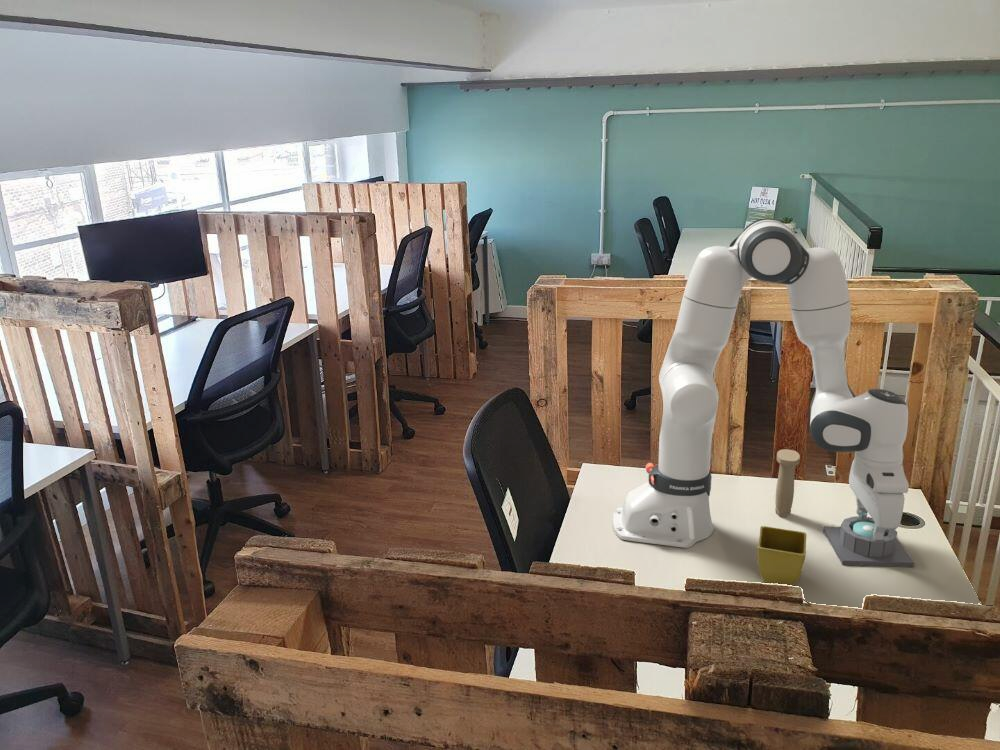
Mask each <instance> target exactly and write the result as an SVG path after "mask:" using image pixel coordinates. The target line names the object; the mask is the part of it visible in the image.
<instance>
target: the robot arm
mask: <svg viewBox="0 0 1000 750" xmlns="http://www.w3.org/2000/svg"><path fill="white" fill-rule="evenodd" d="M791 229H792V228H790V227H789V226H787V225H786V224H785V223H784V222H782V221H780V220H778V219H775V218H768V217H767V218H760V219H757V220H755V221H753V222H751V223H749V224H748V225H747V226H745V228H743V230H742V231H741V232H740V233H739V234H738V235H737V237H735V239H733V240H732V241H731V242H730V244H729V246H722V245H713V246H709V247H706V248H704V249H702V250H701V251H700V252H699V253H698V255H697V256H696V258H695V260H694V263H693V265H692V268H691V270H690V272H689V276H688V278H687V281H686V284H685V287H684V292H683V295H682V299H681V303H680V308H679V311H678V314H677V318H676V323H675V328H674V331H673V333H672V335H671V336H672V337H671V339H670V342H669V344H668V347H667V350H666V353H665V356H664V359H663V361H662V365H661V367H660V371H659V375H658V382H659V387H660V391H661V395H662V396H661V397H662V402H663V403H662V404H663V405H662V407H663V408H662V418H661V426H660V432H659V439H658V441H659V442H658V464H657V466H655V465H654V463H652V462H648V463H647V464H646V465H645V471H646V473H647V474H648V481H646V482H644V483H643V484H641V485H639V486H638V487H636V488H634V489H632V490H630V491H629V492H627V494H626V497H625V499H624V502H623V506H620V507H618V508H616V510H615V511H614V513H613V515H612V529H613V532H614V533H615V535H616V536H617V538H619V539H621V540H625V541H629V542H638V543H645V544H653V545H661V546H668V547H669V546H670V547H677V548H684V549H686V548H690V547H693V545H695V543H697V542H700V541H702V540H706V539H707V538H709V537H710V536H711V535H712V534H713V533H714V528H715V527H714V524H713V520H712V516H711V508H710V495H711V491H712V479H713V477H712V472H711V469H710V465H711V464H710V463H711V453H712V452H711V450H712V438H713V433H714V432H713V431H714V428H715V423H716V418H717V417H716V416H717V412H718V409H719V408H718V407H719V396H720V395H719V390H718V387H717V385H716V383H715V380H714V372H715V369H716V368H715V367H716V364H717V362H718V361H719V358H720V355H721V354H722V351H723V350H724V348H725V346H726V345H727V344H728V342H729V338H730V334H731V332H732V328H733V324H734V320H735V317H736V312H737V308H738V305H739V302H740V298H741V293H742V290H743V289H744V286H745V285H746V283H747V282H748V281H749V280H750V279H751V278H753V279H754V280H757V281H759V282H764V283H771V284H779V285H780V284H781V285H785V286H786V290H787V293H788V301H789V306H790V307H789V308H790V315H791V320H792V324H793V327H794V330H795V331H794V332H795V333H796V337H797V338H798V340H799V341H800V342H801V343H802V344H804V345H805V346H806V347H807V348H808V349H809V352H810V355H811V360H812V365H813V374H814V381H815V391H814V394H813V396H812V399H811V402H810V406H809V411H810V418H809V419H810V420H809V435H810V438H811V439H812V441H813V442H814V444H815V445H817V446H818V447H819V448H820V449H823V450H824V451H827V452H832V453H833V452H834V453H835V452H837V453H852V452H854V459H852V463H851V467H850V469H849V470H850V471H849V477H848V484H849V488H850V489H851V490H852V492H853V493H854V495H855V502H856V514H857V516H859V517H867V518H868V514H869V517H871V518H872V519H873V520H874V522H875V528H874V529H872V534H871V535H872V536H873V538H874V539H875V540H882V539H883V535H884V532H885V531H886V529H895V530H897V529H898V528H899V527H900V525H901V521H902V518H903V513H904V507H905V495H904V494H907V493H908V492H909V487H910V485H909V481H908V479H907V478H906V474H905V471H904V465H903V460H904V451H903V446H904V443H905V442H906V439H907V433H908V426H909V425H908V424H909V408H908V405H907V403H906V401H905V399H904V398H903V397H902V396H900V395H898V394H896V393H895V392H893V391H890V390H887V389H881V388H871V389H868V390H867V391H865V392H864V393H862V394H859V395H857V396H856V395H855V393H854V392H853V390H852V389H851V387H850V385H849V383H848V377H847V376H848V375H847V370H846V361H845V360H846V359H845V353H844V352H845V344H846V343H845V342H846V340H847V338H848V336H849V335H850V332H851V331H850V330H851V322H852V321H851V319H852V318H851V317H852V313H851V312H852V308H851V299H850V291H849V285H848V281H847V277H846V273H845V269H844V266H843V263H842V260H841V258H840V255H839V254H838V253H837V252H836V251H835V250H833V249H831V248H827V247H820V246H819V247H818V246H817V247H814V246H813V247H810V248H807V247H804V246H803V245H802V244H801V242H800V241H799V240H798V239H797V238H796V234H795V233H794V232H793V230H791Z"/></svg>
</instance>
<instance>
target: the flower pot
mask: <svg viewBox="0 0 1000 750" xmlns="http://www.w3.org/2000/svg"><path fill="white" fill-rule="evenodd" d="M759 530H760V531H759V536H758V537H759V538H758V543H757V566H758V571H759V574H760V577H761V578H762V580H763V582H764V583H767V584H771V583H778V584H787V585H793V586H794V585H795V584H796V583H797V582H799V581H798V580H799V579H800V577H801V574H802V571H803V567H804V563H805V560H806V555H807V533H806V532H805V531H797V530H791V529H786V528H785V529H784V528H779V527H773V526H772V527H771V526H767V525H766V526H763V525H762V526H760V528H759Z"/></svg>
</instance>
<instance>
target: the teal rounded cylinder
mask: <svg viewBox="0 0 1000 750" xmlns="http://www.w3.org/2000/svg"><path fill="white" fill-rule="evenodd" d="M874 528H875V524H874V523H871V522H857V523H855V524H854V525H853V531H854V532H855V533H857V534H859V535H862V536H866V537H869V538H873V536H872V535H871V534H872V529H874ZM884 533H885V532H884ZM883 537H884V535H883Z"/></svg>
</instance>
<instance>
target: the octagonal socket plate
mask: <svg viewBox="0 0 1000 750" xmlns="http://www.w3.org/2000/svg"><path fill="white" fill-rule="evenodd" d="M857 522H871V523H874V524H875V522H874V520H873V519H872V517H871V516H867V517H859V516H858V515H856V516H850V517H847V518H844V519H843V521H842V522H841V524H840V526H830V525H829V526H828V525H826V526H825V525H824V526H823V527H822V531H823V533H824V536H825V537H826V538H827V540H828V542H829V543H830V546H831V548H832V549H833V551H834V553H835V554H836V556H837V558H838V560H839V561H840V564H841V565H842V566H843V565H844V566H871V567H872V566H874V567H900V568H901V567H902V568H904V567H906V568H908V567H909V568H915V565H916V563H915V561H914V559H913V558H912V557H911V555H910V554H909V553H908V552H907V550H906V549H905V547H904V546H903V545H902V543H901V542H900V540H899V539H898V538H897V537H898V531H897V529H886V531H885V533H884V537H883V539H882V540H875V539H874V538H869V537H866V536H862V535H859V534H857V533H855V532H854V531H853V525H854V524H855V523H857Z"/></svg>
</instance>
